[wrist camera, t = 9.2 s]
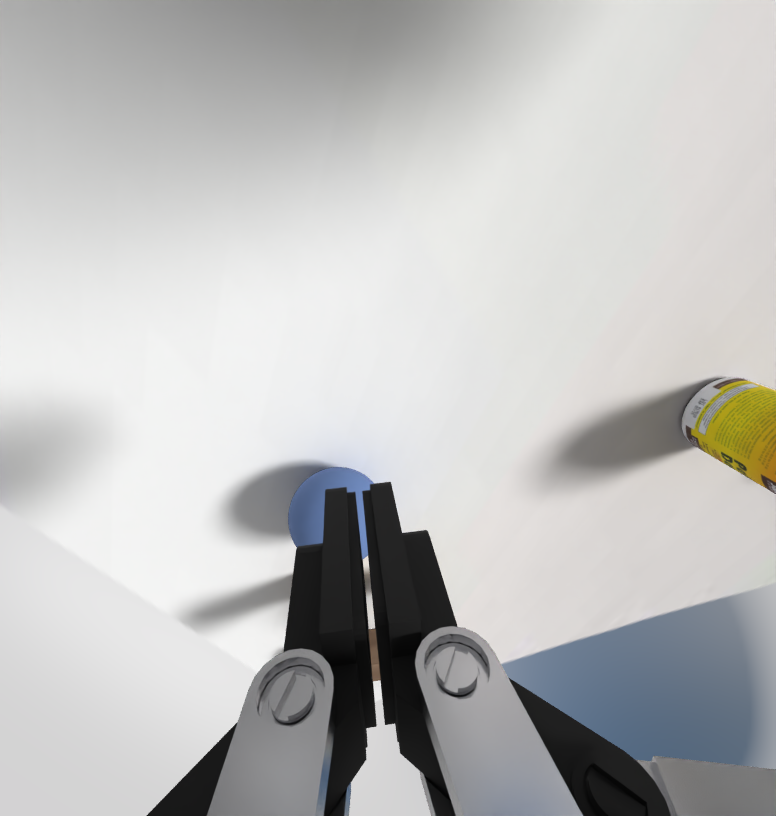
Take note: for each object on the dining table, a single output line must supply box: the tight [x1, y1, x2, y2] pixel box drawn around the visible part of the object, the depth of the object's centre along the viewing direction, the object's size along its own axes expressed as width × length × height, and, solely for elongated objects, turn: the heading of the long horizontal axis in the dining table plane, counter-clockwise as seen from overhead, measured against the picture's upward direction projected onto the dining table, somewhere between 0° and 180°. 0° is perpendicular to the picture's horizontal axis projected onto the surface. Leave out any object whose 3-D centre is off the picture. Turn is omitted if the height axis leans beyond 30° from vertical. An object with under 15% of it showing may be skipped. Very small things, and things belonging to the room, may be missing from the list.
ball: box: [288, 467, 374, 559], centre depth 25 cm, size 6×6×6 cm
